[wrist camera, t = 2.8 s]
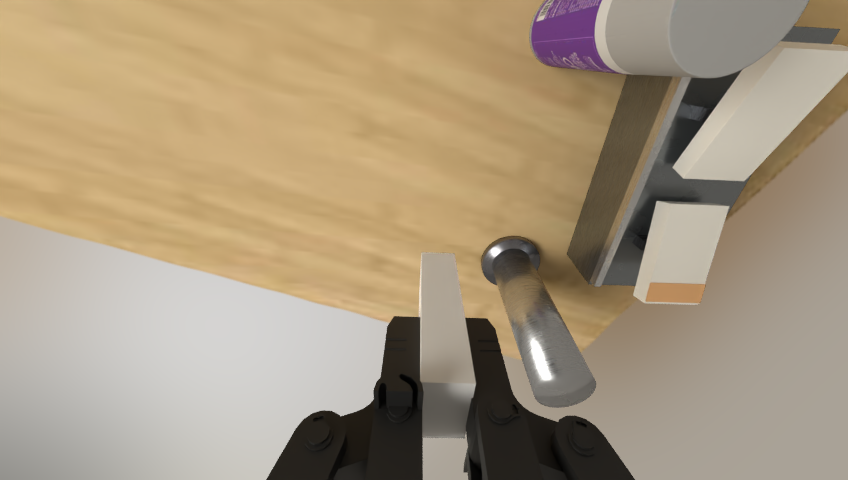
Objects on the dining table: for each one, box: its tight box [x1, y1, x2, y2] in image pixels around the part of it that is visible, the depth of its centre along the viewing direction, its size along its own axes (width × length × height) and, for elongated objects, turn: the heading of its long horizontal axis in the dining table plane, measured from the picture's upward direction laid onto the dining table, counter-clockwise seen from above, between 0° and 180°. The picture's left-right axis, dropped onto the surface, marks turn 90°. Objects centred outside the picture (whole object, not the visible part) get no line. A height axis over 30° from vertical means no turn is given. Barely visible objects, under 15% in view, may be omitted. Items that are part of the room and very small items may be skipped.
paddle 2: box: [672, 41, 848, 181], centre depth 19 cm, size 8×4×1 cm, turn 176°
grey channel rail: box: [567, 26, 840, 287], centre depth 25 cm, size 20×9×6 cm, turn 177°
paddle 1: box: [633, 201, 729, 305], centre depth 24 cm, size 8×4×2 cm, turn 178°
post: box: [481, 236, 596, 408], centre depth 27 cm, size 6×6×15 cm
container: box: [529, 0, 809, 78], centre depth 16 cm, size 5×5×15 cm
